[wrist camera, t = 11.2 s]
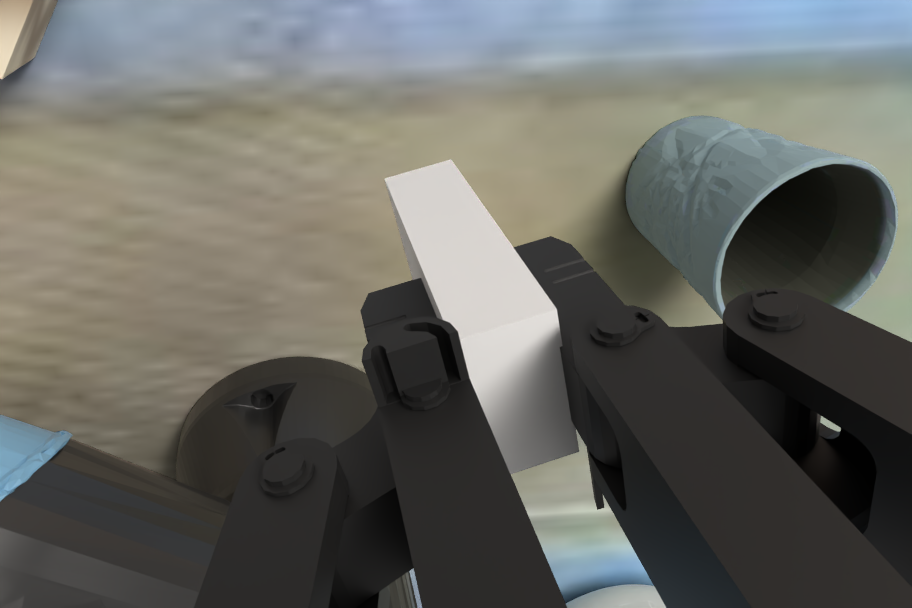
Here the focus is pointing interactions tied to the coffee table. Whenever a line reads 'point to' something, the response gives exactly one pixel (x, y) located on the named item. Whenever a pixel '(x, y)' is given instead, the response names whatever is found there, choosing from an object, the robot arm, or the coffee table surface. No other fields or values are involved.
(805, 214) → the teal cup
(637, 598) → the serving bowl
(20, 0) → the birch block
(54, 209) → the coffee table surface
